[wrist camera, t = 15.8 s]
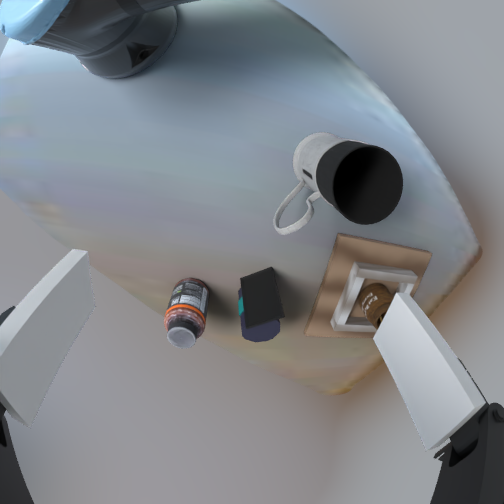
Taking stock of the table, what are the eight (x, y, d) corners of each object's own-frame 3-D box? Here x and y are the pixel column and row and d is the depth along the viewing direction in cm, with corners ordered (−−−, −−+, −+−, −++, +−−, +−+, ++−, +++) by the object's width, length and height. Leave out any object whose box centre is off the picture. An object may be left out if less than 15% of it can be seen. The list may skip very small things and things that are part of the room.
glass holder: (361, 172, 37) (419, 201, 23) (282, 224, 40) (304, 277, 26) (332, 121, 33) (384, 121, 20) (247, 175, 36) (252, 206, 23)
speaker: (235, 268, 42) (239, 316, 34) (272, 266, 43) (285, 312, 34) (237, 305, 46) (242, 352, 38) (271, 302, 47) (281, 349, 38)
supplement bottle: (199, 311, 46) (190, 359, 36) (168, 295, 44) (152, 342, 34) (216, 287, 44) (210, 335, 34) (184, 270, 42) (169, 315, 32)
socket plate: (338, 232, 41) (346, 242, 37) (428, 251, 43) (439, 260, 40) (303, 331, 49) (307, 345, 46) (388, 334, 51) (395, 345, 48)
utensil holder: (390, 280, 44) (423, 322, 33) (381, 309, 47) (408, 352, 36) (361, 281, 43) (391, 327, 33) (353, 311, 46) (378, 358, 35)
